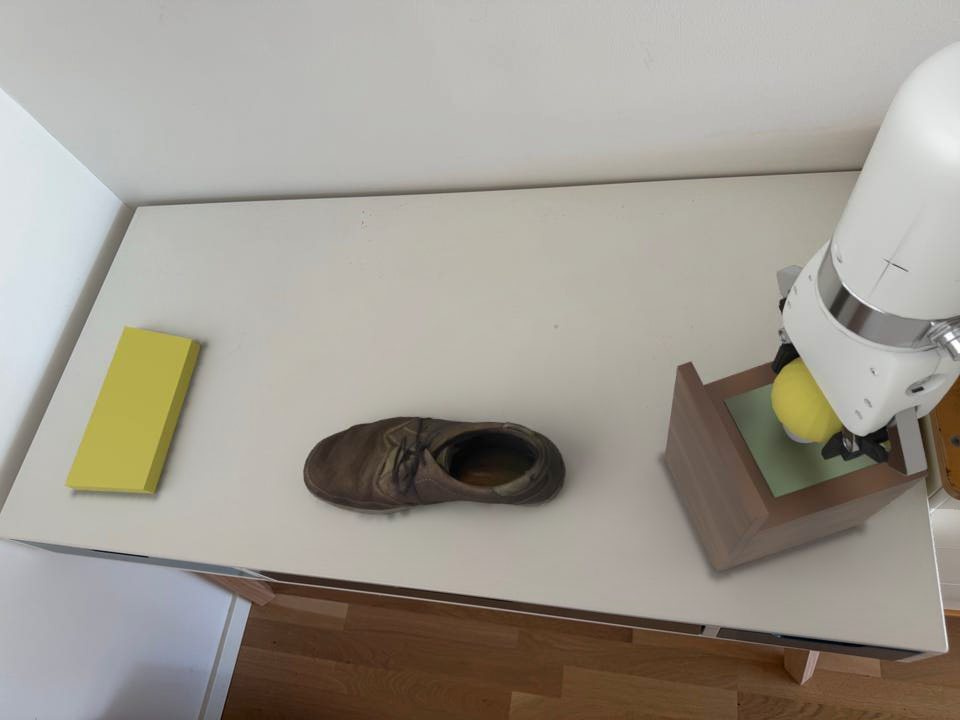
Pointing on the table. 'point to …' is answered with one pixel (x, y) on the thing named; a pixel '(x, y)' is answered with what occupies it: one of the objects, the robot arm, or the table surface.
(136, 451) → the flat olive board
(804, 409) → the light bulb
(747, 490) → the wooden frame
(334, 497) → the shoe
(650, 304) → the table surface
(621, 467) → the table surface
